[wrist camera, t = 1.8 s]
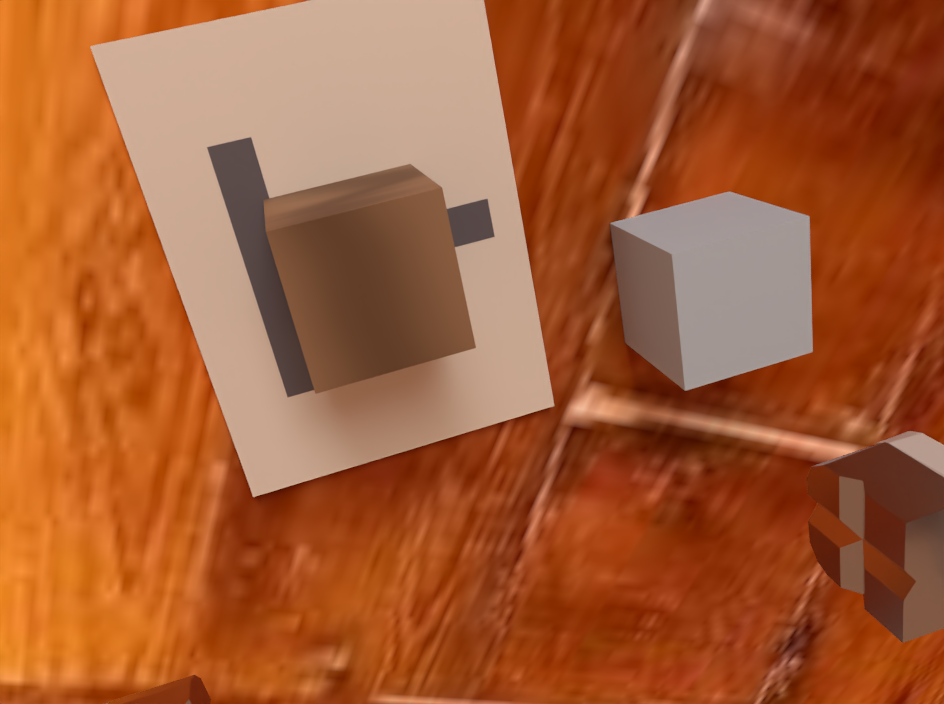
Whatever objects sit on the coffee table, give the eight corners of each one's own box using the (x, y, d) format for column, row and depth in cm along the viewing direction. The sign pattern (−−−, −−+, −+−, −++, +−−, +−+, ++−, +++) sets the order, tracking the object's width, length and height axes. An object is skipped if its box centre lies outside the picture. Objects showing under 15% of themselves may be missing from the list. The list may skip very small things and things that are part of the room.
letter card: (473, -33, 26) (477, -35, 25) (550, 400, 32) (554, 406, 32) (93, 46, 24) (89, 46, 24) (253, 490, 30) (253, 497, 30)
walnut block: (410, 163, 27) (442, 187, 23) (441, 300, 29) (475, 348, 25) (263, 199, 26) (265, 231, 22) (305, 338, 28) (315, 393, 24)
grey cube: (728, 190, 31) (809, 216, 27) (736, 309, 33) (812, 352, 29) (609, 222, 30) (671, 254, 26) (624, 342, 32) (685, 391, 28)
